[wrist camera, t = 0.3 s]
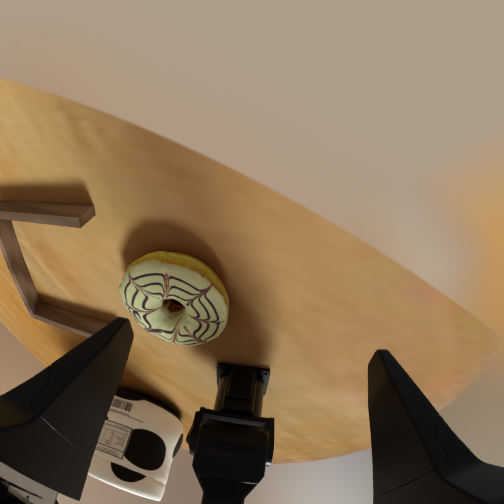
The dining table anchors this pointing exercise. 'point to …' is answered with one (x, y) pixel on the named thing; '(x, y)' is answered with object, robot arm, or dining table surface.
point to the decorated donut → (179, 288)
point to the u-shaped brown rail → (5, 238)
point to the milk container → (137, 445)
